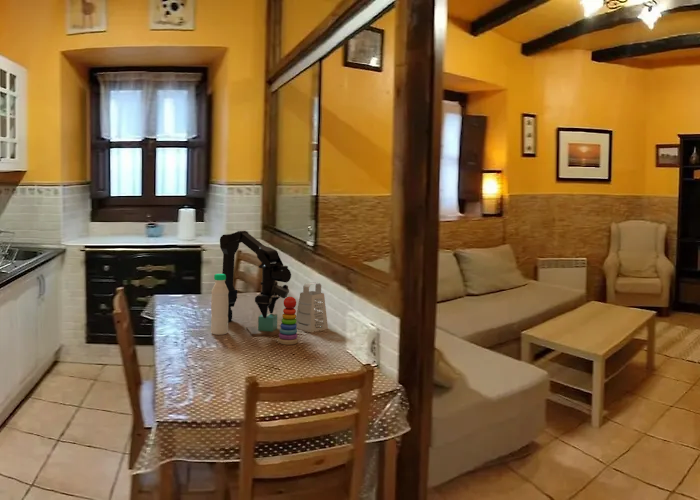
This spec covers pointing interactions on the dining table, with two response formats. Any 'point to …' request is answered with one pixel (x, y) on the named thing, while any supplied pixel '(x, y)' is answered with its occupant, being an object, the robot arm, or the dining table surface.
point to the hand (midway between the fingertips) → (268, 315)
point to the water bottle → (219, 306)
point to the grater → (311, 309)
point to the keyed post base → (255, 332)
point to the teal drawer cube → (267, 322)
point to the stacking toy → (288, 323)
